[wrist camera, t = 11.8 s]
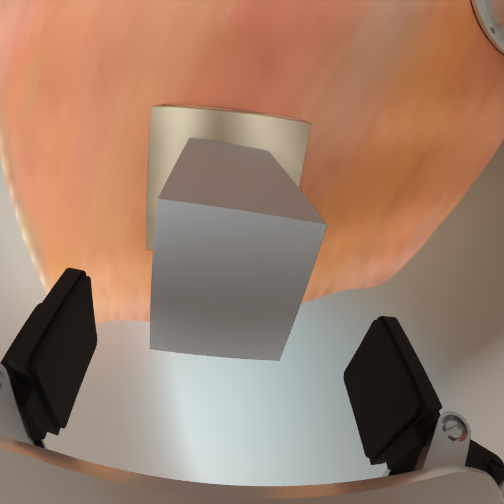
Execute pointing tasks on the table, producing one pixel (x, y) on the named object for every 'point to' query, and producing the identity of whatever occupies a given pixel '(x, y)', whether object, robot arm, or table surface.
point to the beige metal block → (220, 130)
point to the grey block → (230, 253)
